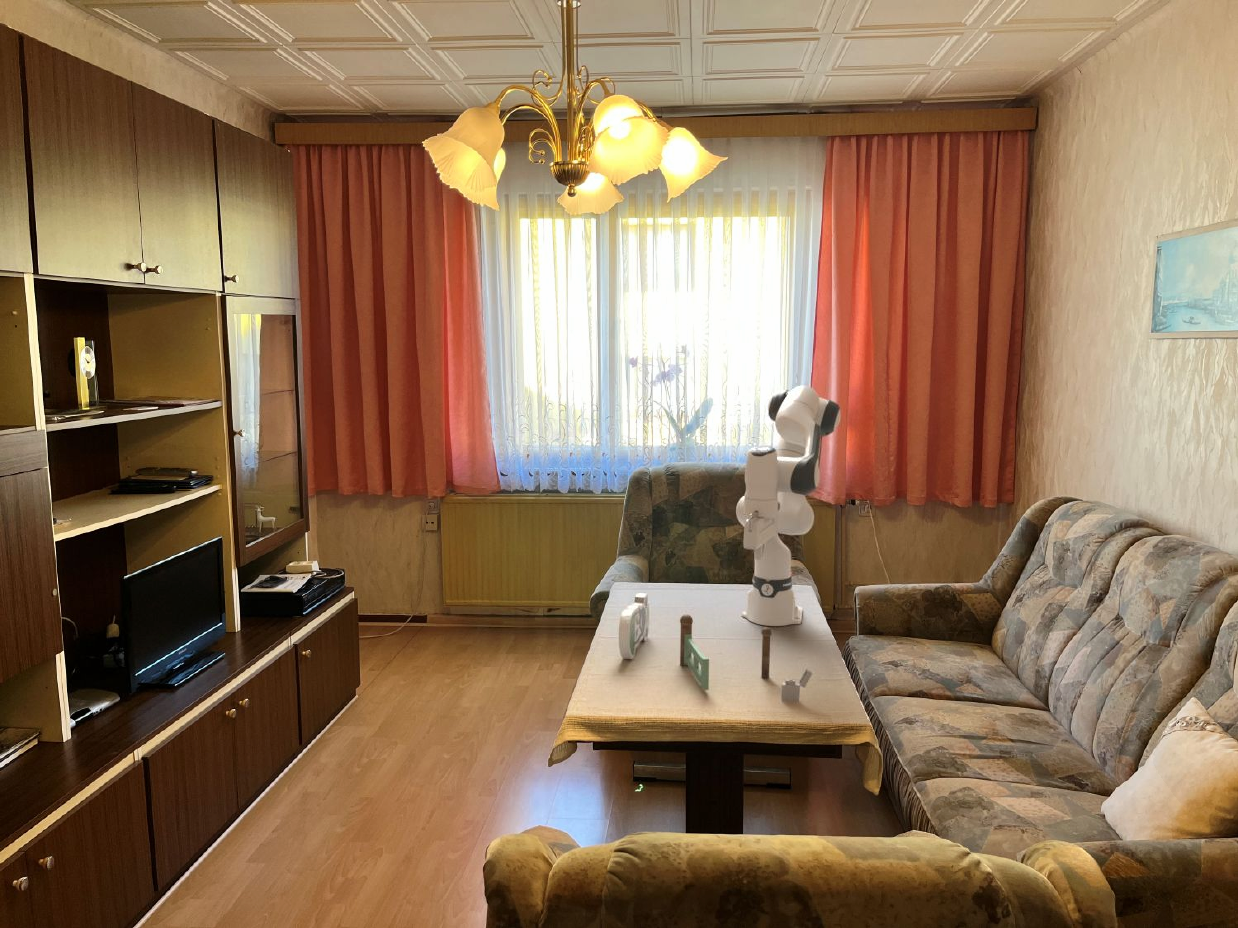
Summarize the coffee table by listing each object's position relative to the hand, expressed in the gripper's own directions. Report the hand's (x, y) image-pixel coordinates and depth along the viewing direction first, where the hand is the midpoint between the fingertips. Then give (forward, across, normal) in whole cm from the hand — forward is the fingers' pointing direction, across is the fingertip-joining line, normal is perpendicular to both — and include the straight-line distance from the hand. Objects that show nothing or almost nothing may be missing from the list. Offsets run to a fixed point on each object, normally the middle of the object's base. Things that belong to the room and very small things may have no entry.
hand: (759, 558), depth 250 cm
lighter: (+29, -22, -16) cm, 40 cm away
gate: (+28, -19, +11) cm, 35 cm away
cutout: (+29, -5, +34) cm, 45 cm away
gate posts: (+29, -10, +6) cm, 31 cm away
